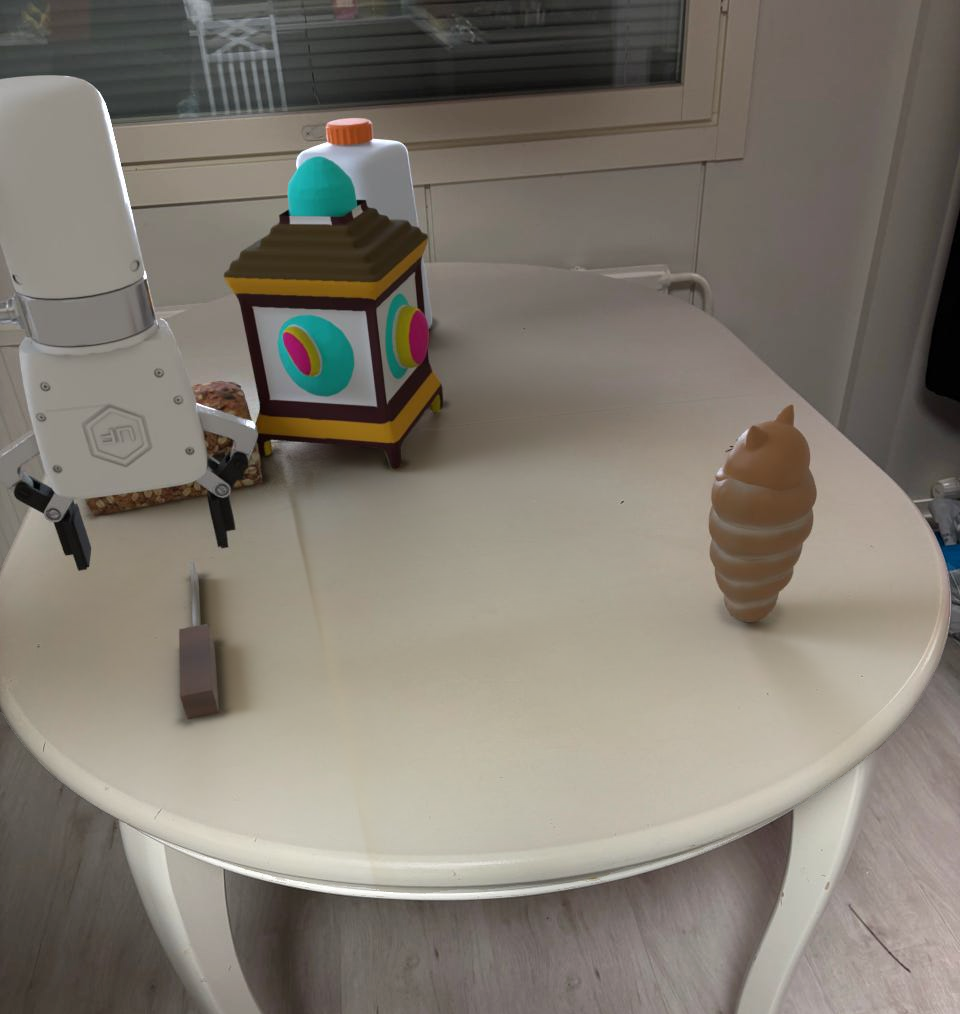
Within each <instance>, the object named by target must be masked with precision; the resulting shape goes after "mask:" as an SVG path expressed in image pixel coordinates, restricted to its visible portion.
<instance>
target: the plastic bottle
mask: <svg viewBox="0 0 960 1014" xmlns="http://www.w3.org/2000/svg"><path fill="white" fill-rule="evenodd" d="M324 127H325V128H324V129H325V135H326V141H327V142H324V143H321V144H318V145H315V146H312V147H310V148H308V149H305V150H303V151H301V152H300V153H299V154H298V155H297V157H296V161H295V164H296V170H297V169H298V167H299V166H300V165H301V164H302V163H303V162H305V161H306V160H307V159H309V158H311V157H316V156H321V157H324V158H327V159H329V160H331V161H333V162H334V163H336V164H337V165H338V166H339V167H340V168H341V169H342V170H343V171H344V172H345V173H346V174H347V175H348V176H349V177H350V178H351V180H352V182H353V185H354V188H355V194H356V200H366V203H367V206H368V207H369V208H375V209H377V211H378V213H379V214H380V215H386V216H388V218H389V219H401V220H407V221H409V223H410V224H411V226H416V227H418V228H420V225H419V219H418V218H419V217H418V212H417V206H416V205H417V204H416V199H415V191H414V184H413V178H412V171H411V165H410V164H411V163H410V159H409V158H410V157H409V151H408V148H407V147H406V145H404V144H403V143H402V142H400V141H397V140H391V139H379V138H374V129H373V122H371V120H370V119H368V118H362V117H350V118H349V117H348V118H339V119H335V120H331V121H329V122H328V121H327V123H326V126H324ZM421 271H422V283H423V295H424V307H425V316H426V319H427V321H428V328H429V329H430V328H431V327H432V324H433V314H432V313H433V312H432V307H431V306H432V305H431V300H430V294H429V293H430V292H429V287H428V279H427V273H426V272H427V271H426V266H425V259H424V255H423V256H422V260H421Z"/></svg>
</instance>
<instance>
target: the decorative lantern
mask: <svg viewBox="0 0 960 1014" xmlns="http://www.w3.org/2000/svg"><path fill="white" fill-rule="evenodd" d="M287 184H288V185H287V202H288V209H287V210H285V211H283V212H281V213H280V214H279V215H278V218H279V219H278V220H279V221H278V222H277V223H276V224H274V225H273V226H272V227H270V230H269V233H267V234H266V235H265V236H263V237H261V238H259V239H258V240H256V241H254V242H253V243H252V244H250V245H249V246H247V247H245V248H244V249H242V250H241V251H240V252H239V256H238V257H237V258H236V259H234V260H232V261H231V262H230V264H229V268H228V269H227V270H225V272H224V273H223V279H224V280H225V283H226V284H227V286H228V287H229V288H230V290H231V291H232V292H233V294H234V295H235V297H236V298H237V300H238V304H239V307H240V308H239V309H240V312H241V318H242V323H243V327H244V332H245V338H246V342H247V347H248V352H249V357H250V362H251V367H252V372H253V378H254V383H255V387H256V392H257V397H258V403H259V408H258V415H257V417H256V420H255V422H254V423H255V424H256V426H257V430H258V438H257V444H258V449H259V455H260V457H266V456H269V455H271V454H272V452H273V446H272V441H280V442H281V441H282V442H293V443H294V442H295V443H305V444H309V443H310V444H318V445H319V444H322V445H333V446H345V447H360V448H374V449H379V450H381V451H383V452H384V453H385V455H386V458H387V461H388V466H389V468H390V469H391V470H392V471H398V470H399V469H400V468H401V465H402V447H403V444H404V441H405V439H406V438H407V437H408V436H409V434H410V433H411V431H412V430H413V429H414V427H415V426H416V424H418V422H419V421H420V419H421V418H422V417H423V416H424V414H425V412H426V411H427V410H428V408H430V410H431V411H432V412H434V413H439V412H441V410H442V409H443V406H444V390H443V388H444V387H443V385H442V382H441V381H440V379H439V377H438V376H437V374H436V372H435V371H434V369H433V368H432V366H431V363H430V357H429V342H430V330H429V329H430V328H428V321H427V319H426V316H425V307H424V295H423V283H422V271H421V260H422V256H423V257H424V253H425V250H426V247H427V245H428V239H429V236H428V234H427V233H426V232H423V231H422V230H421V228H420V227H419V228H418V227H416V226H411V224H410V223H409V221H407V220H401V219H389V218H388V216H386V215H380V214H379V213H378V211H377V209H375V208H369V207H368V206H367V203H366V200H356V194H355V188H354V185H353V182H352V180H351V178H350V177H349V176H348V175H347V174H346V173H345V172H344V171H343V170H342V169H341V168H340V167H339V166H338V165H337V164H336V163H334V162H333V161H331V160H329V159H327V158H324V157H321V156H316V157H311V158H309V159H307V160H306V161H305V162H303V163H302V164H301V165H300V166H299V167H298V169H297V168H296V170H295V172H294V173H293V175H292V176H291V178H290V180H289V182H288V183H287Z"/></svg>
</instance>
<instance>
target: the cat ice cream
mask: <svg viewBox="0 0 960 1014" xmlns="http://www.w3.org/2000/svg"><path fill="white" fill-rule="evenodd" d="M794 425H795V407H794V404H789V405H787V406H786V407H784V408H783V409H782V410H781V411H780V412H779V413H778V414H777V415H776V417H775V418H774V419H773V420H769V421H763V422H760V423H757V424H752V425H751V426H750V427H749V428H747V429H745V431H744V432H743V433H741V435H740V436H739V437H738V438H736V440H735V441H736V442H735V443H734V445H729V447H730V448H729V449H727V450H725V451H724V453H727V452H729V454H728V456H727V457H726V460H725V463H724V465H723V466H721V467H720V468H719V469H718V470H717V471H716V473H715V475H714V482H713V484H712V486H711V494H710V499H711V507H710V510H709V515H708V531H709V535H710V537H711V541H710V545H709V558H710V559H709V560H710V561H711V563H712V565H713V567H714V578H715V580H716V584H717V586H718V588H719V590H720V591H721V592H722V594H723V601H724V605H725V609H726V610H727V612H728V613H729V615H730V616H731V617H732V618H734V619H735V620H738V621H741V622H747V623H754V622H759V621H761V620H764V619H765V618H767V617H768V616H769V615H770V614H771V613H772V611H773V609H774V608H775V606H776V604H777V602H778V599H779V596H780V592H781V591H783V590H784V589H785V588H786V587H787V586H788V584H789V583H790V582H791V581H792V578H793V575H794V570H795V566H796V564H797V563H798V561H799V560H800V557H801V554H802V551H803V546H804V542H805V541H806V540H807V539H808V538H809V536H810V535H811V533H812V529H813V525H814V510H813V508H814V505H815V504H816V500H817V496H818V493H817V492H818V491H817V490H818V489H817V485H816V482H815V477H814V475H813V473H812V471H811V469H810V465H811V464H810V463H811V451H810V450H811V449H810V446H809V443H808V440H807V439H806V437H805V436H804V434H803V433H802V432H801V431H800V430H799V429H797V428H796V427H795V426H794Z"/></svg>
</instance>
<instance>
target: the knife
mask: <svg viewBox="0 0 960 1014" xmlns="http://www.w3.org/2000/svg"><path fill="white" fill-rule="evenodd" d="M189 562H190V564H189V565H190V590H191V592H190V593H191V612H192V613H191V616H192V617H191V619H192V620H191V621H192V626H189V627H188V626H187V627H184V628H179V629H178V641H179V642H178V651H179V655H178V656H179V658H178V659H179V698H180V701H181V704H182V708H183V710H184V714H185V717H186V720H193V719H196V718H201V717H206V716H211V715H216V714H219V713H220V705H219V691H218V690H219V689H218V676H217V661H216V647H215V642H214V638H213V635H212V630H211V627H210V624H209V623H205V624H202V623H201V605H200V585H199V584H200V583H199V580H200V579H199V576H198V572H197V568H196V565H195V561H194V560H192V561H189Z"/></svg>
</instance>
